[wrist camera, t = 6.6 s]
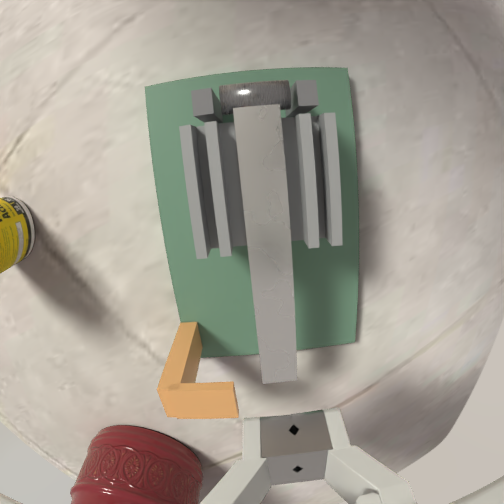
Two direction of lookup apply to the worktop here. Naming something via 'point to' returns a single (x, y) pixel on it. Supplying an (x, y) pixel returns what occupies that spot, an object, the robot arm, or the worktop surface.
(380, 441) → the worktop surface
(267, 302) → the strap
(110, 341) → the worktop surface
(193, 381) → the bracket
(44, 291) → the worktop surface
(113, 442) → the canister
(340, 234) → the heatsink base
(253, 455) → the robot arm
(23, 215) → the supplement bottle
